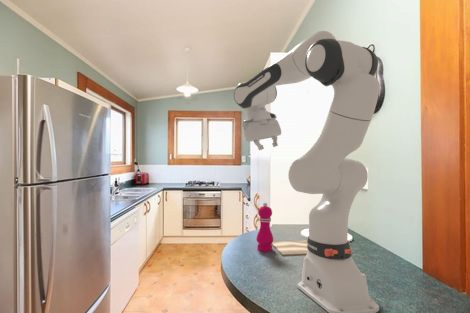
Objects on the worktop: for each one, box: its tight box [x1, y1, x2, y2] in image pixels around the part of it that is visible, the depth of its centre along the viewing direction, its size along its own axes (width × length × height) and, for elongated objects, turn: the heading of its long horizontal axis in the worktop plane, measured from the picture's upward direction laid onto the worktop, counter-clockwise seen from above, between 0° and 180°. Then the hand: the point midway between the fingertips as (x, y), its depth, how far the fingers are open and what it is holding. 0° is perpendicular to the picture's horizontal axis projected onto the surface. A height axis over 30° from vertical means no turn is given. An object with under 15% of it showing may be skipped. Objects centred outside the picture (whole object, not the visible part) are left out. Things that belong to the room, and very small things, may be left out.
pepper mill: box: [255, 202, 274, 253], centre depth 109 cm, size 7×7×20 cm
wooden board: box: [271, 239, 308, 257], centre depth 111 cm, size 16×20×1 cm
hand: (268, 147), depth 112 cm, fingers open, 8 cm apart
